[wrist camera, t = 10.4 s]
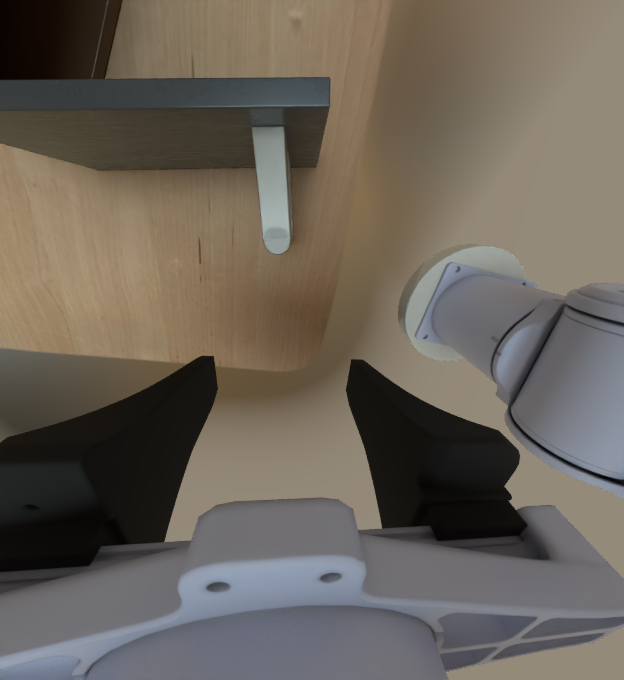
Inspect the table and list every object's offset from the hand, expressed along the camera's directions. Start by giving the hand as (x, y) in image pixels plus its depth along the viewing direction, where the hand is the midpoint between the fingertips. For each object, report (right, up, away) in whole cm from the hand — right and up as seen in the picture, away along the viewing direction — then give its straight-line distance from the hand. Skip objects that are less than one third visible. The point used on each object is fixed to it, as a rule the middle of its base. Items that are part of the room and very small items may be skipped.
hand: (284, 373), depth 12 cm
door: (-6, +12, +5) cm, 15 cm away
